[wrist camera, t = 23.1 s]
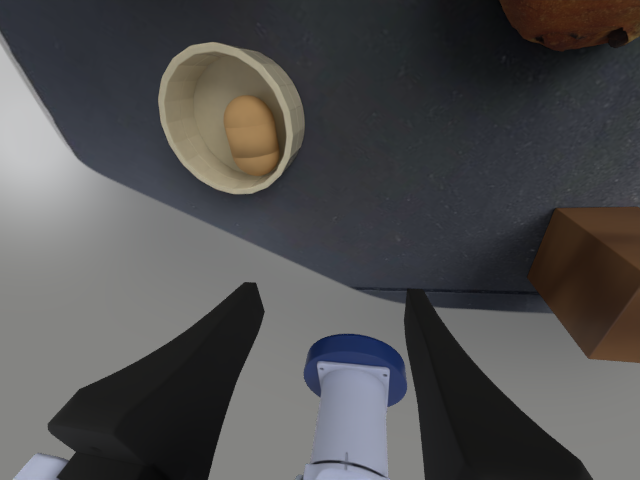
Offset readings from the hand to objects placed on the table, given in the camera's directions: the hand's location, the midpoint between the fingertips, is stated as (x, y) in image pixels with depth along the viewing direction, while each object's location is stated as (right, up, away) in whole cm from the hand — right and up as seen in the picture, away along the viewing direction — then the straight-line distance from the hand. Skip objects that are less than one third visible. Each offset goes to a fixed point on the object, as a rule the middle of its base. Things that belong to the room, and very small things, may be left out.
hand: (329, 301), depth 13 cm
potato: (-5, +10, +6) cm, 13 cm away
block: (+19, +2, +7) cm, 20 cm away
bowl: (-6, +12, +6) cm, 14 cm away
